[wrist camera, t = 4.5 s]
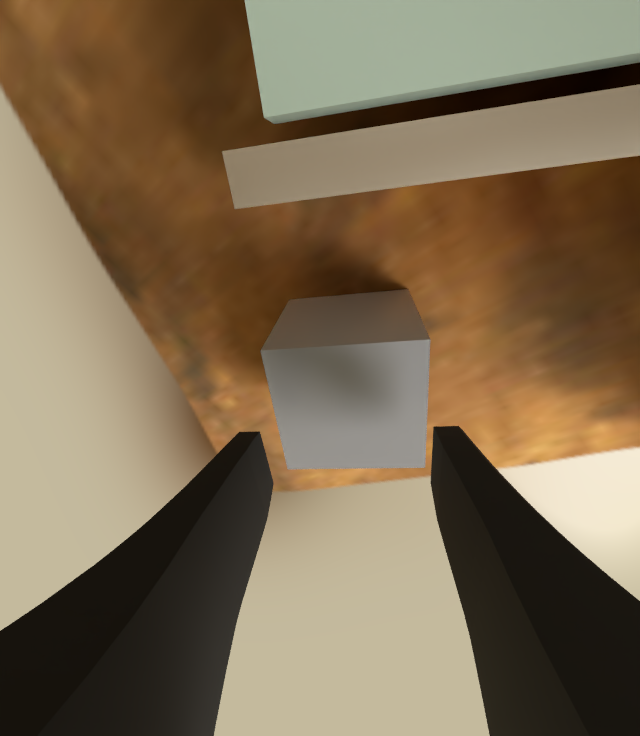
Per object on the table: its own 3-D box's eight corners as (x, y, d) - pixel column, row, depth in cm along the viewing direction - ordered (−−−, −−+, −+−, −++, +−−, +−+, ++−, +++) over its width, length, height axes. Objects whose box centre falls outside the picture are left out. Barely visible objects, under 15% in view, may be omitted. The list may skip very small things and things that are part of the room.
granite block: (407, 389, 16) (424, 467, 12) (305, 394, 17) (287, 469, 13) (407, 288, 14) (430, 339, 10) (289, 298, 15) (260, 350, 10)
